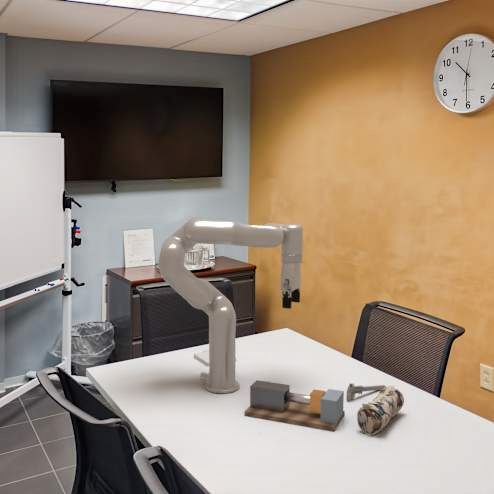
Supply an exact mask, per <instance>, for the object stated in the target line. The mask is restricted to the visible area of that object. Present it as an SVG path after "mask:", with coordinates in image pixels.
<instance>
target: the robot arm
mask: <svg viewBox="0 0 494 494" xmlns="http://www.w3.org/2000/svg"><path fill="white" fill-rule="evenodd" d="M303 237H304V229H303V226H302V225H301V224H299V223H285V224H284V223H273V222H267V223H265V224H263V225H253V224H245V223H242V222H238V221H234V220H226V219H225V220H224V219H223V220H222V219H204V218H202V217H199V216H198V217H197V216H196V217H192V218H190V219H189V220H187V222H186V223H183V225H182V226H181V227H180V228H178V229H177V230H176V231H174V232H173V233H172V234H171V235H170V236H169V237H168V238H166V239H165V240H164V242H163V243H162V245H161V248H160V252H159V257H158V262H157V263H158V264H157V265H158V272H159V273H160V276H161V278H162V279H163V280H164V281H165V282H166V283H167V284H168V285H169V286H170V287H171V288H172V289H173V290H174V291H175V292H176V293H177V294H178V295H180V296H181V297H182V298H183V299H184V300H185V301H187V303H188V304H189V305H190V306H192V307H193V308H194V309H197V310H202V312H204V313H205V314H206V315H207V316H208V346H209V347H208V350H209V368H208V370H209V371H208V372H209V373H207V372H200V375H199V377H200V378H199V379H200V380H201V381H206V382H205V384H204V386H205V387H204V388H205V389H206V390H207V391H208V392H210V393H215V394H229V393H234V392H236V391H238V390H239V389H240V387H241V385H240V382H239V381H238V380H236V361H235V357H236V329H237V315H236V311H235V308H234V306H233V303H232V302H231V301H230V300H229V298H227V296H226V295H224V294H223V293H221V291H220V290H219V289H217V288H216V287H215V286H214V285H213V284H212V283H211V282H209V281H208V280H207V279H205V278H199V277H197V276H195V275H194V274H193V272H192V271H190V270H189V269H188V268H186V267H185V265H184V263H183V261H184V258H185V256H186V255H185V254H187V253H188V252H189V251H190V250H191V249H193V248H194V247H195V246H196V245H198V244H202V245H203V244H206V245H207V244H208V245H226V246H227V245H228V246H229V245H230V246H235V247H236V246H239V247H251V248H265V249H266V248H267V249H270V248H277V247H279V246H280V245H281V246H280V247H281V253H280V254H281V255H280V256H281V257H280V259H281V260H280V261H281V262H280V263H282V264H281V272H280V281H279V282H280V284H279V286H280V287H279V288H280V290H281V291H282V292H281V294H282V295H281V297H282V300H281V301H282V306H281V307H282V308H283V309H290V310H291V309H292V303H300V302H301V284H302V271H301V268H302V267H301V265H302V263H303V243H304V242H303V241H304V238H303Z"/></svg>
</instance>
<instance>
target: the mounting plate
mask: <svg viewBox="0 0 494 494" xmlns="http://www.w3.org/2000/svg"><path fill="white" fill-rule="evenodd" d="M193 358H195V360H197V361H199V362H200V363H201V364H203V365H205V366H206V367H207V368H208V367H209V349H203V350H202V352H198V353H194V354H193ZM235 362H237V357H236V356H235Z"/></svg>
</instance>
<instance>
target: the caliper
mask: <svg viewBox="0 0 494 494" xmlns="http://www.w3.org/2000/svg"><path fill="white" fill-rule="evenodd" d="M386 387H387V386H386V385H384V384H378V385H377V384H376V385H366V386H364V385H355V383H352V382H351V383H349V385H348V386H347V389H346V401H347V402H350V401H354V399H355V396H356V394H358V395H363V392H370V391H381V390H382V389H383V388H386Z"/></svg>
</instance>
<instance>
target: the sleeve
mask: <svg viewBox="0 0 494 494" xmlns="http://www.w3.org/2000/svg"><path fill="white" fill-rule="evenodd" d="M290 386H291V385H289V384H285V383H277V382H272V381H265V380H260V379H259V380H258V379H257V380H256V381H254V382H253V383H252V384H251V385H250V387H249V388H250V390H249V391H250V392H249V393H250V397H249V404H250V405H249V406H250V407H251V408H257V409H263V410H269V411H275V412H280V413H284V412H285V411H286V410H287V409H288V407H289V402H287V401H285V392H290V388H291V387H290Z"/></svg>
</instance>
